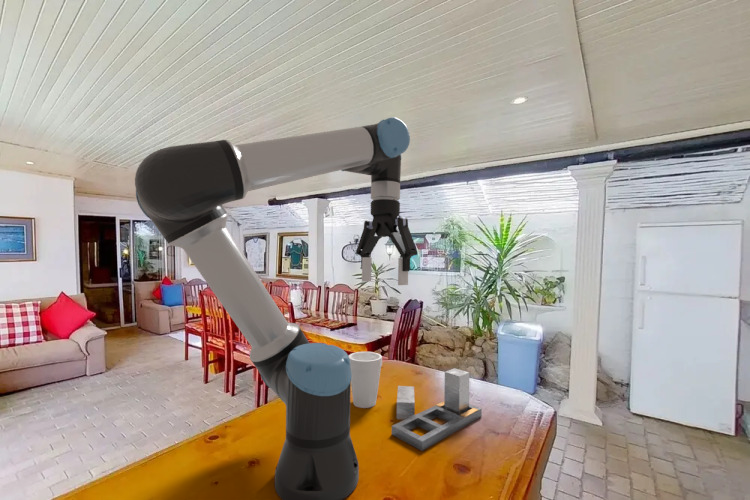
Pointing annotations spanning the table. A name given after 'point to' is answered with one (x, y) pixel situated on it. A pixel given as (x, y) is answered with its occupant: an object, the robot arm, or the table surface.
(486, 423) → the table surface
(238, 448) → the table surface
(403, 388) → the block
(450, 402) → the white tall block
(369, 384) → the foam cup
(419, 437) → the grey flat frame
